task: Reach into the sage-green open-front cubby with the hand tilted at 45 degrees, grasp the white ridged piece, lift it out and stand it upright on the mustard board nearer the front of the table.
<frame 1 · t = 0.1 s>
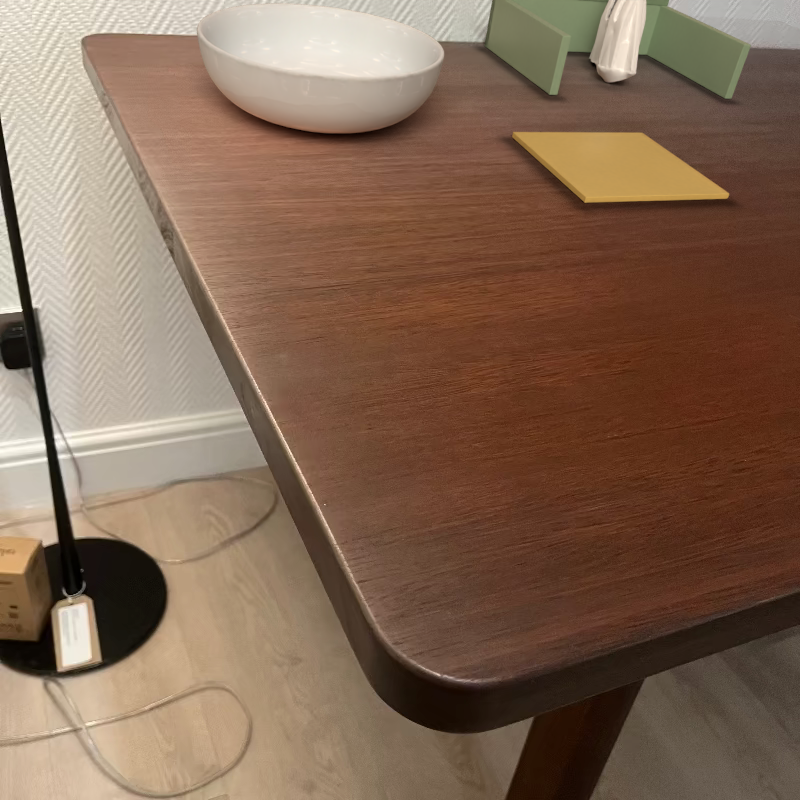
white ridged piece: (608, 76, 96), on the table
cubby: (604, 71, 97), on the table
board: (615, 166, 72), on the table
serving bowl: (318, 118, 73), on the table
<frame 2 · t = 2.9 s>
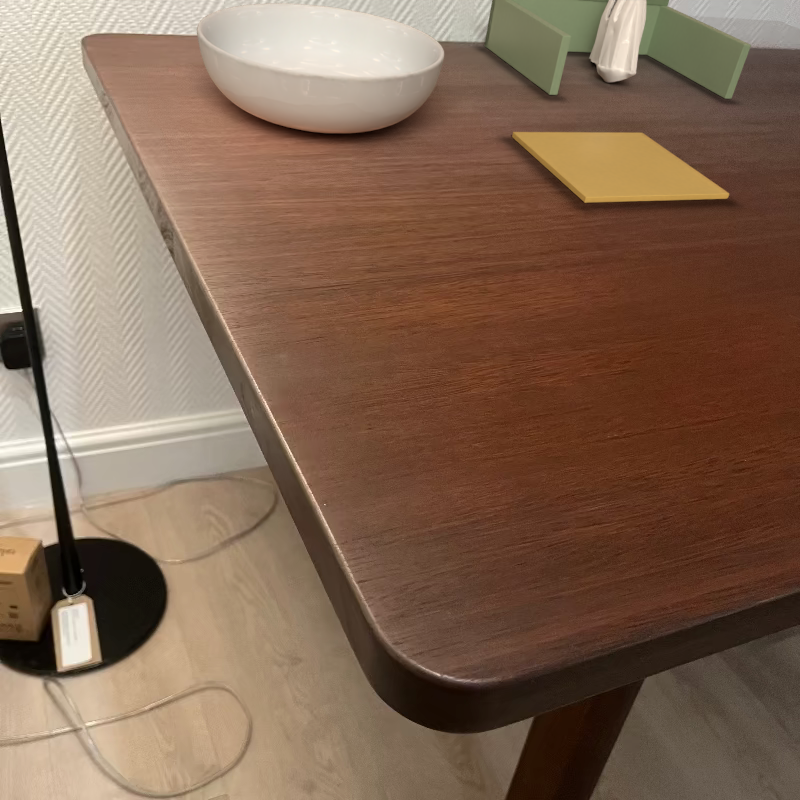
nothing on the table moved.
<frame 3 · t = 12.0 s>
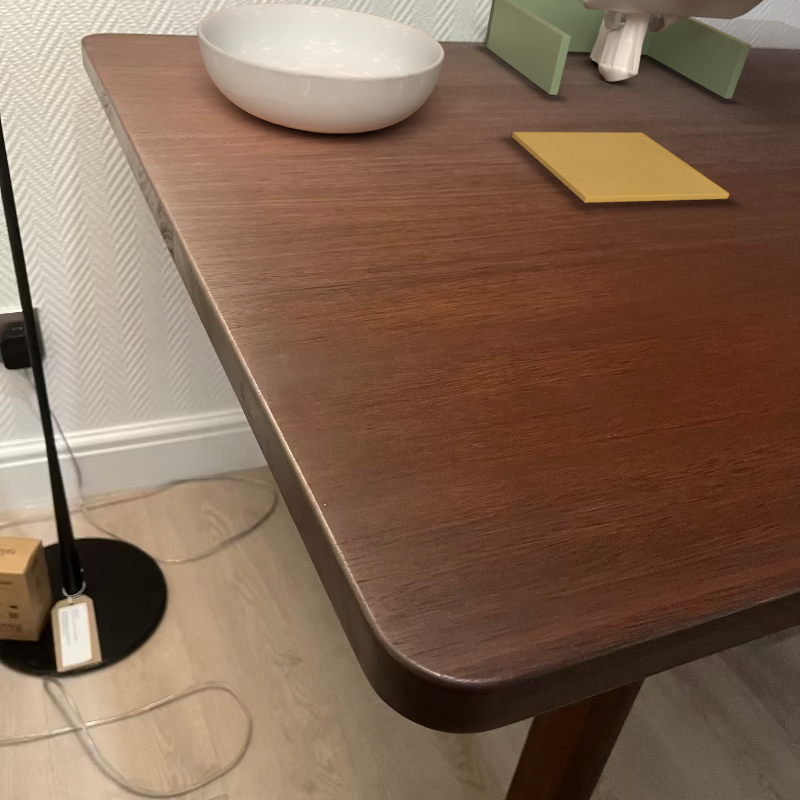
hand: (631, 25, 90), 6 cm above the table, tool tilted 45°, fingers closed on white ridged piece, 4 cm apart
white ridged piece: (608, 75, 96), on the table, touching gripper
everything else where it was.
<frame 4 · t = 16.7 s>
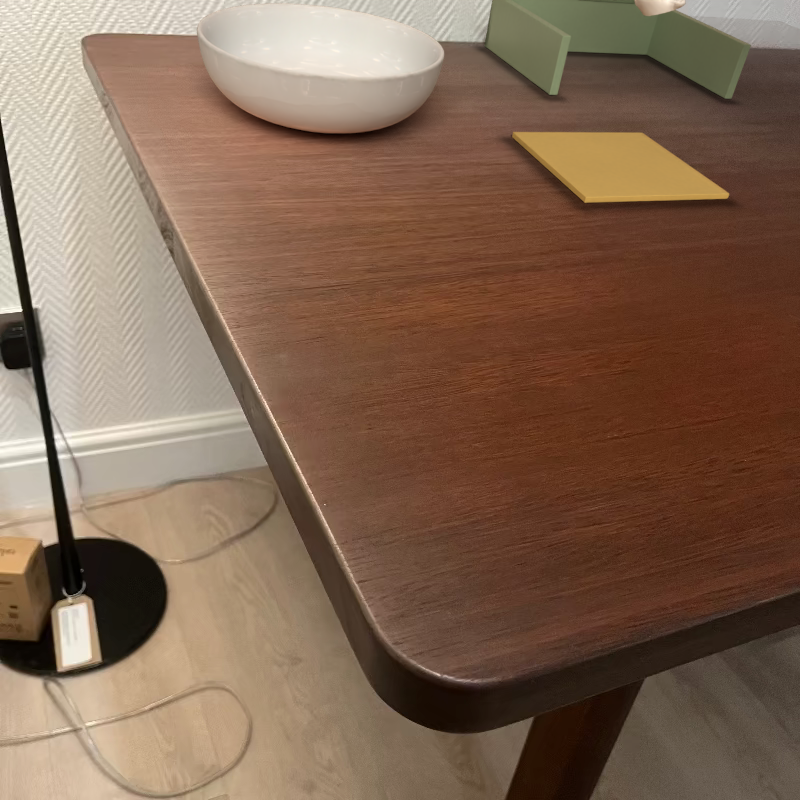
white ridged piece: (646, 11, 77), point 10 cm above the table, touching gripper
everything else where it was.
when the fingers open (6 cm above the table, at t = 21.7 s): white ridged piece stays where it is, resting on board.
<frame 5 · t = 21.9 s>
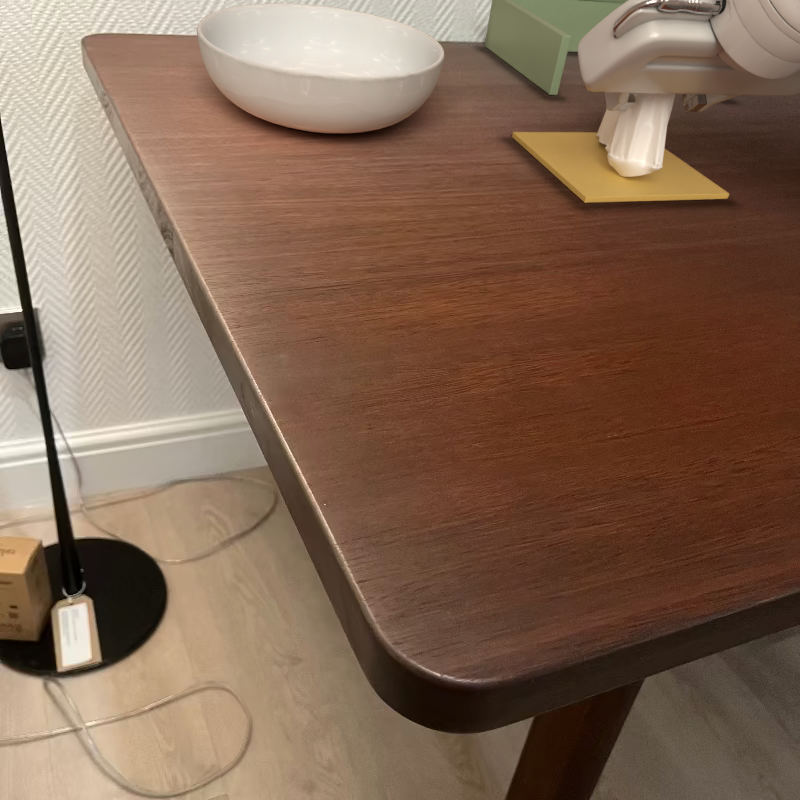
hand: (652, 102, 66), 6 cm above the table, tool tilted 45°, fingers open, 6 cm apart
white ridged piece: (622, 163, 72), resting on board
everything else where it was.
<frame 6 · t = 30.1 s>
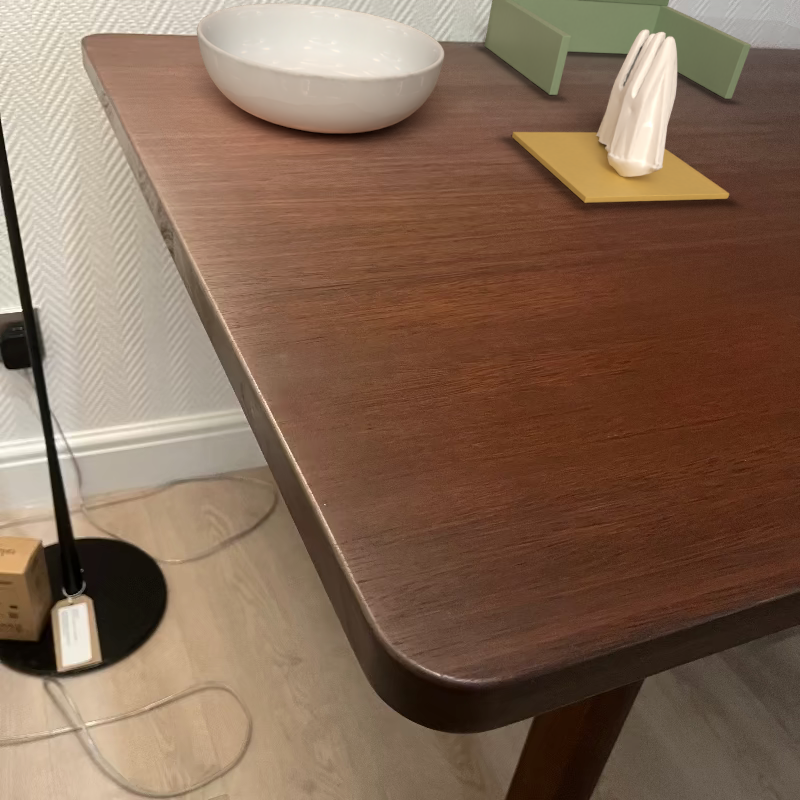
nothing on the table moved.
at the end: white ridged piece inside the target area on the board (0.6 cm from its centre), point 0.3 cm above the board's base; white ridged piece tilted 0°; white ridged piece moved 30.6 cm from its start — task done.
